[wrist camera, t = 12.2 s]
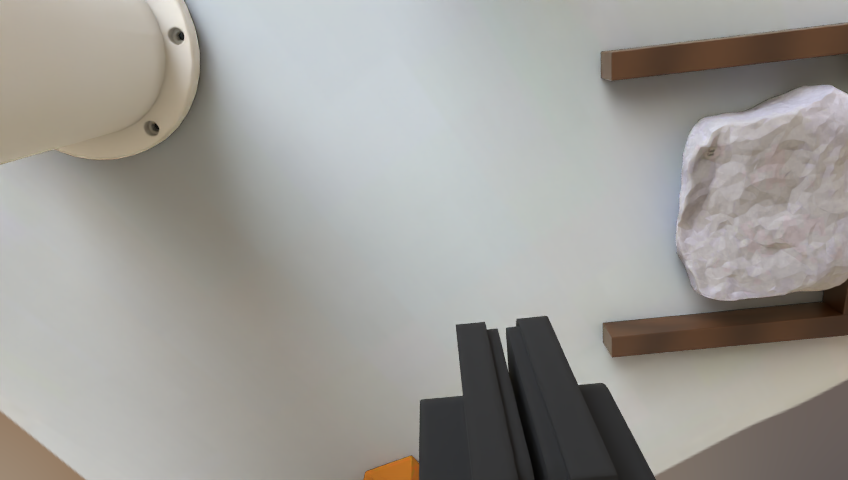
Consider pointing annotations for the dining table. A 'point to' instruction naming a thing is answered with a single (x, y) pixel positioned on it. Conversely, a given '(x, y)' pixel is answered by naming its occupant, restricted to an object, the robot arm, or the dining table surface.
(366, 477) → the decorative tree
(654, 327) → the frame
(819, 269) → the stone block
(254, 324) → the dining table surface
